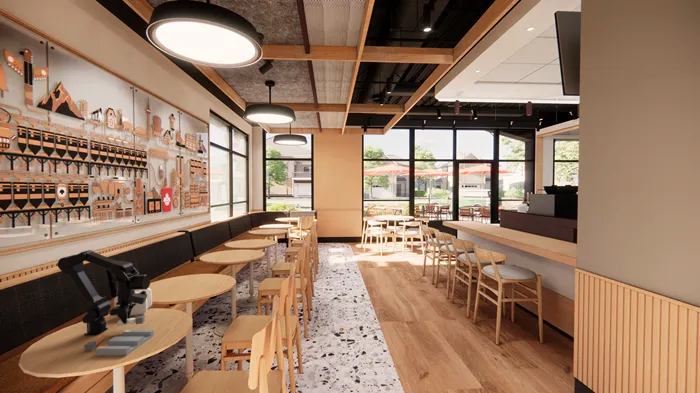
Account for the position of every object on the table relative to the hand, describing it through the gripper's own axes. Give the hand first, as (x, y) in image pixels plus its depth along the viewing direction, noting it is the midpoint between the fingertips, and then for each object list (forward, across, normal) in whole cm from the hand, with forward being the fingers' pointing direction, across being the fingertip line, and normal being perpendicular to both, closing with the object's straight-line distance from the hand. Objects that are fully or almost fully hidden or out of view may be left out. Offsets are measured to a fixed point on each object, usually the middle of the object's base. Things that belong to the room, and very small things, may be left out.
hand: (126, 322), depth 144 cm
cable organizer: (+5, +24, +4) cm, 25 cm away
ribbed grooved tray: (+4, -15, -5) cm, 17 cm away
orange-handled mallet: (+4, -10, +8) cm, 13 cm away
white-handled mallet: (+1, 0, -1) cm, 1 cm away
